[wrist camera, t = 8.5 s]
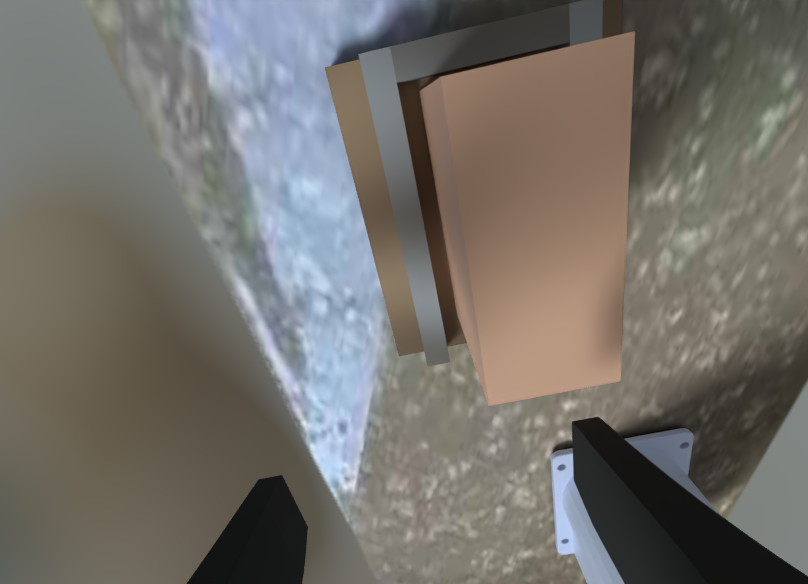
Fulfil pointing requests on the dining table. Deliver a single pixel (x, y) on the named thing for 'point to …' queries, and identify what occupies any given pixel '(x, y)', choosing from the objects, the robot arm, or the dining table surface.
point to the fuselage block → (537, 213)
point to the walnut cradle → (410, 160)
